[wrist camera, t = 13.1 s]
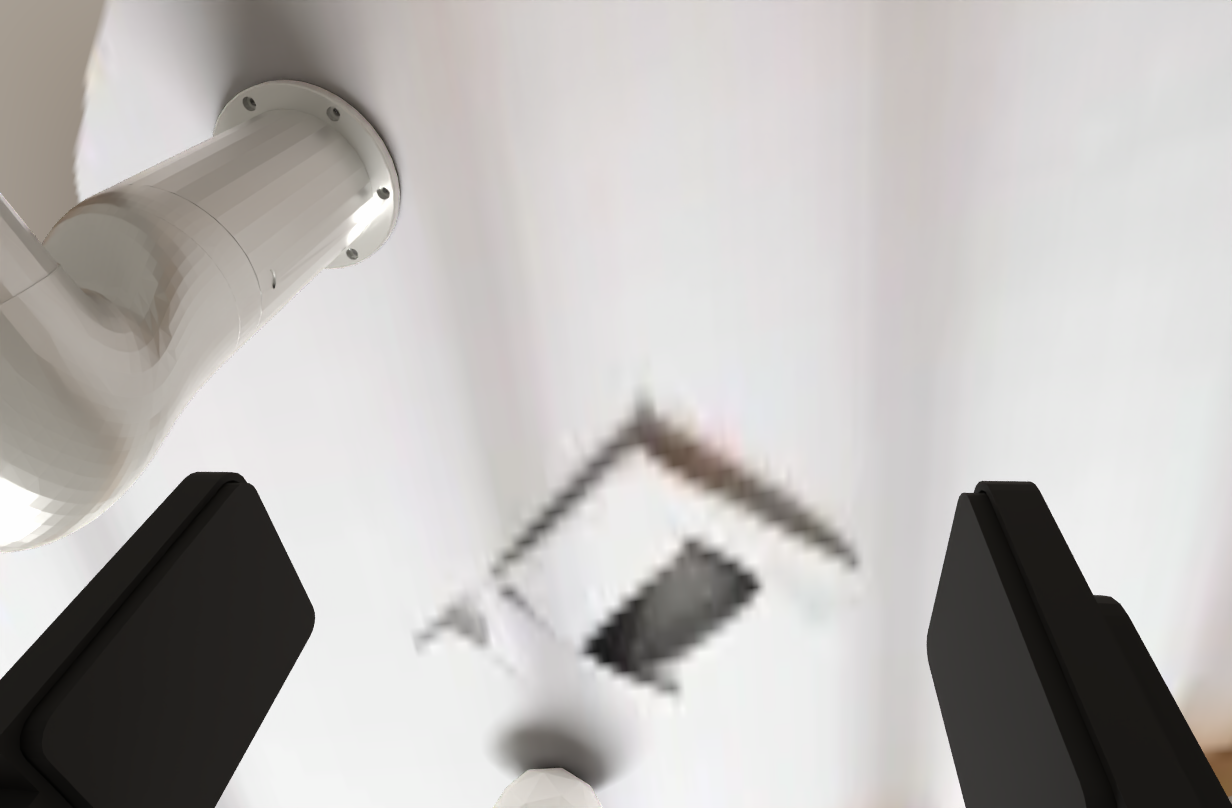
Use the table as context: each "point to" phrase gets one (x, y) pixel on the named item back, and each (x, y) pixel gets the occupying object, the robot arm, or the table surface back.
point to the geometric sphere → (548, 791)
